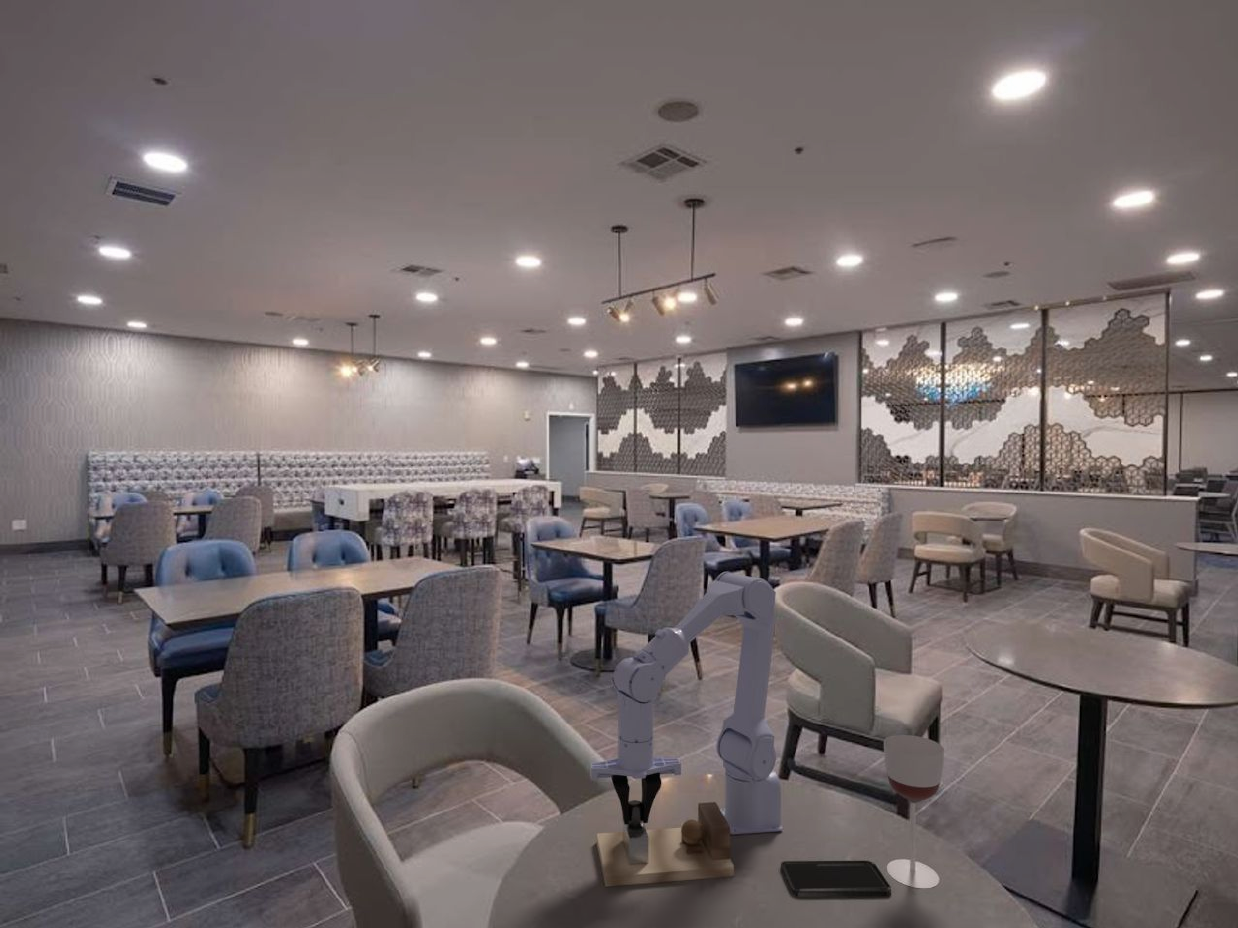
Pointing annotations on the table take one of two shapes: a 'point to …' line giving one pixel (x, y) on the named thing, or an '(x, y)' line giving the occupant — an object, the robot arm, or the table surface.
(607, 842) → the base
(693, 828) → the walnut
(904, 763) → the wineglass
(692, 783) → the table surface
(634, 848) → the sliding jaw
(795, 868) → the phone
